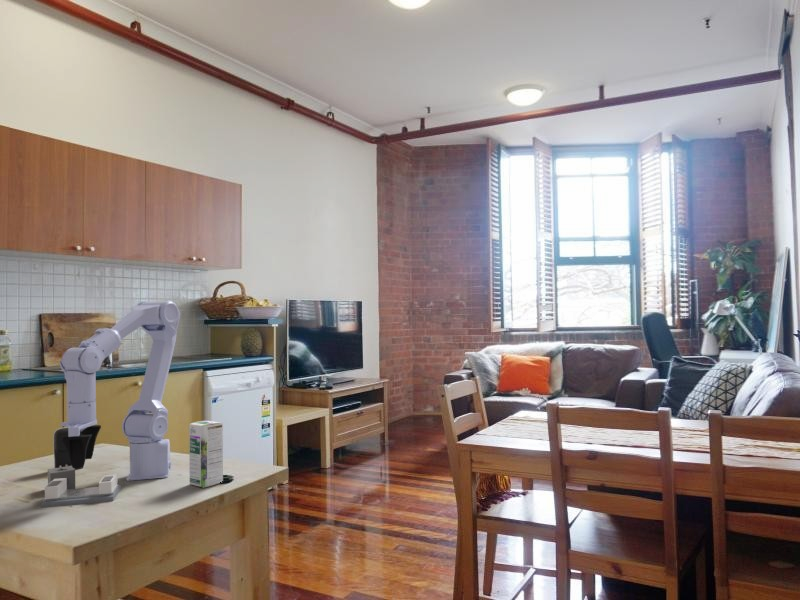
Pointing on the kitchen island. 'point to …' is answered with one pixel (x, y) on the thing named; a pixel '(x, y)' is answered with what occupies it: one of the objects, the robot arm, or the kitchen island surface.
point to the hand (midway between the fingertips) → (82, 463)
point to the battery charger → (61, 449)
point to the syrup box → (205, 453)
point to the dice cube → (63, 475)
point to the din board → (81, 497)
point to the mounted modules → (60, 486)
